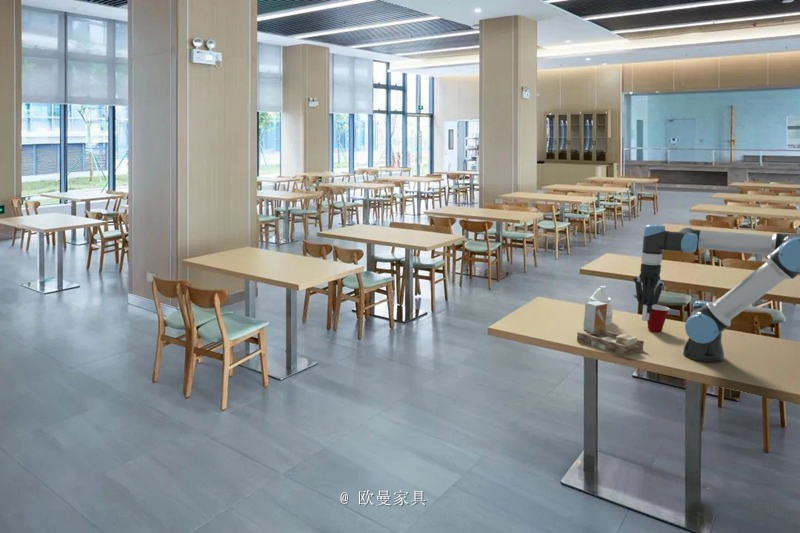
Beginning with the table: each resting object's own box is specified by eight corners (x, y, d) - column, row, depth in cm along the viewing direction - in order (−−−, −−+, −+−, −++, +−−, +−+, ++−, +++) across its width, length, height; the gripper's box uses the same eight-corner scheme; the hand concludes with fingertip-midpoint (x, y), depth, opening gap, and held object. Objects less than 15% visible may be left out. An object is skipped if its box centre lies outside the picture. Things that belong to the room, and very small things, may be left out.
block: (636, 346, 268) (637, 337, 267) (628, 349, 264) (628, 339, 264) (623, 342, 273) (624, 333, 272) (615, 345, 269) (616, 336, 268)
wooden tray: (642, 350, 270) (643, 341, 269) (624, 356, 262) (625, 346, 261) (595, 336, 288) (595, 327, 288) (576, 341, 281) (577, 332, 280)
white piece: (616, 325, 307) (619, 288, 303) (591, 325, 305) (594, 288, 301) (604, 317, 319) (607, 282, 316) (580, 318, 317) (582, 282, 314)
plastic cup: (673, 333, 295) (675, 307, 293) (654, 335, 291) (657, 309, 289) (655, 326, 305) (658, 302, 302) (637, 328, 301) (640, 304, 298)
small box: (593, 333, 293) (596, 305, 290) (582, 329, 298) (584, 302, 295) (605, 330, 297) (607, 303, 295) (594, 327, 302) (596, 300, 300)
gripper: (671, 265, 252) (665, 322, 257) (641, 259, 262) (636, 315, 267) (660, 267, 248) (654, 325, 252) (631, 261, 258) (625, 317, 263)
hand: (645, 320), depth 260 cm, fingers closed
